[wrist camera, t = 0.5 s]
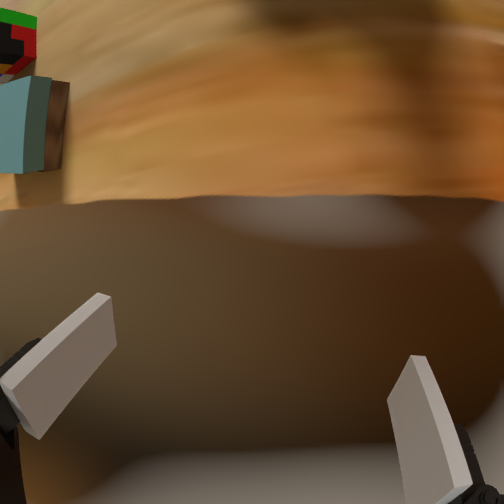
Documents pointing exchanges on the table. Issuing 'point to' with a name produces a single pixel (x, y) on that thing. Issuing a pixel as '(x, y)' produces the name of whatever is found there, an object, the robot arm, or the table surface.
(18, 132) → the top block
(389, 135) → the table surface
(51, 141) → the base block
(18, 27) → the puzzle toy
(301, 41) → the table surface
